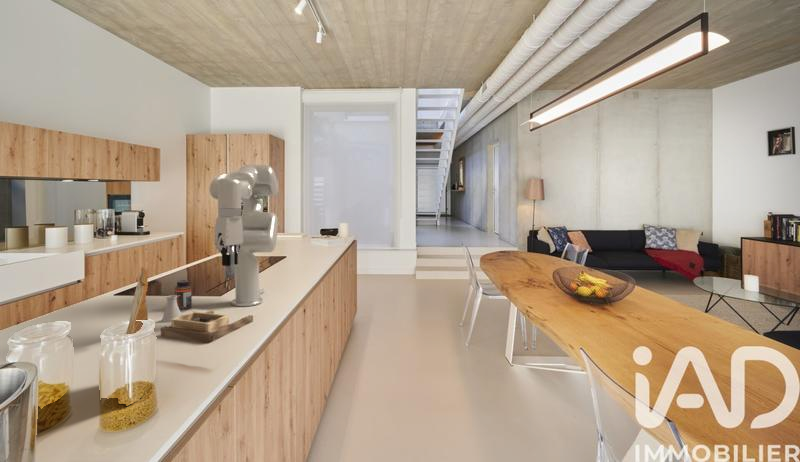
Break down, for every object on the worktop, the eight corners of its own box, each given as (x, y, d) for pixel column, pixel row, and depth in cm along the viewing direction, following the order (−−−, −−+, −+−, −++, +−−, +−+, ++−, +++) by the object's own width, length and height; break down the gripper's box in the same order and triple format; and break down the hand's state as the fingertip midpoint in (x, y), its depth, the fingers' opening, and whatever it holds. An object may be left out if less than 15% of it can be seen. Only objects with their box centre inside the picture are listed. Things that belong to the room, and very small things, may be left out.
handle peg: (229, 276, 134) (229, 241, 133) (236, 277, 133) (236, 241, 132) (223, 278, 131) (223, 241, 130) (231, 278, 130) (230, 242, 130)
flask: (173, 327, 128) (172, 299, 127) (155, 325, 129) (154, 298, 128) (189, 321, 135) (188, 294, 134) (172, 319, 136) (171, 293, 136)
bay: (210, 320, 136) (210, 309, 136) (253, 325, 132) (253, 314, 132) (161, 340, 116) (160, 327, 116) (209, 347, 112) (209, 334, 111)
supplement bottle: (171, 309, 149) (170, 281, 148) (184, 305, 154) (184, 278, 153) (181, 311, 146) (181, 283, 145) (195, 307, 152) (194, 280, 151)
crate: (193, 325, 126) (193, 311, 126) (228, 330, 123) (228, 315, 122) (171, 334, 117) (171, 319, 117) (208, 339, 114) (208, 324, 114)
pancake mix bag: (159, 369, 97) (156, 265, 95) (149, 406, 80) (145, 280, 78) (128, 374, 94) (124, 266, 92) (110, 413, 77) (105, 282, 75)
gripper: (235, 213, 140) (235, 261, 141) (203, 213, 124) (204, 267, 125) (253, 213, 138) (253, 262, 139) (222, 214, 122) (223, 269, 123)
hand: (229, 264), depth 132 cm, fingers closed on handle peg, 3 cm apart
